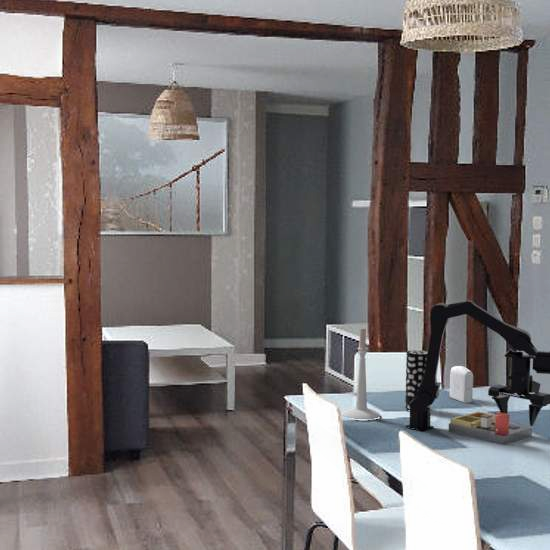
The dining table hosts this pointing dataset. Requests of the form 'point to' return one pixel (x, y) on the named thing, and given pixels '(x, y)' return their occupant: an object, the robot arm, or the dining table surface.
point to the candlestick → (361, 387)
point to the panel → (486, 429)
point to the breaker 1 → (486, 420)
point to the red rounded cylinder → (502, 423)
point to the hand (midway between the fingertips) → (518, 422)
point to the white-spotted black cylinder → (414, 374)
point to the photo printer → (461, 384)
